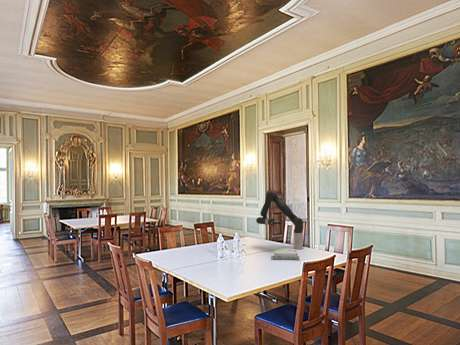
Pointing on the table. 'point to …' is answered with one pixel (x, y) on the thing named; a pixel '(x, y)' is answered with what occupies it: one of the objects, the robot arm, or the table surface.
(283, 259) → the mat
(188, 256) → the table surface
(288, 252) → the snack box
